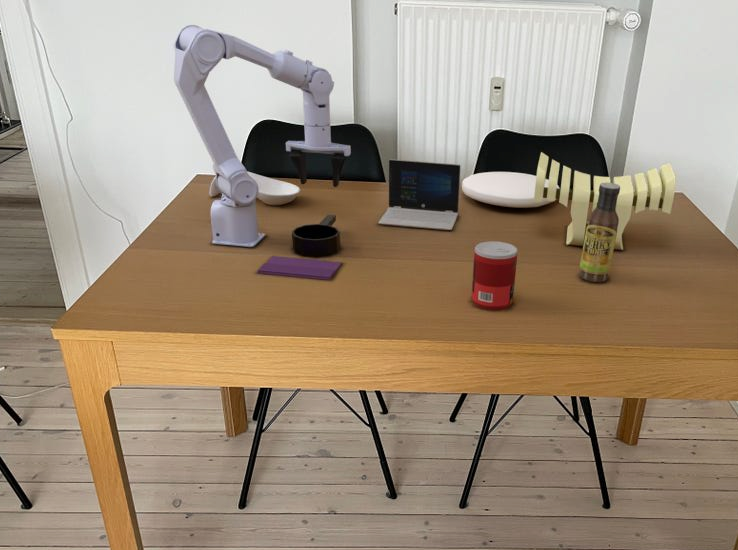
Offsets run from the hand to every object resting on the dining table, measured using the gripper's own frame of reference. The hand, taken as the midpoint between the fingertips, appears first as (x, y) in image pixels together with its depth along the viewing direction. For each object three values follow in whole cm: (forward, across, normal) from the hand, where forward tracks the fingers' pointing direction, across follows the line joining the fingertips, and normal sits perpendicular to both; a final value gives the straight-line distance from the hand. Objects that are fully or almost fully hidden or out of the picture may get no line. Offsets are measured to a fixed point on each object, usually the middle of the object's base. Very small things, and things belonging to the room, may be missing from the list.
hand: (319, 184), depth 168 cm
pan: (+10, -3, +11) cm, 15 cm away
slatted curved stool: (+10, -65, -8) cm, 66 cm away
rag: (+10, -3, +26) cm, 28 cm away
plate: (+10, -42, -35) cm, 56 cm away
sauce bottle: (+10, -64, +16) cm, 66 cm away
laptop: (+10, -22, -11) cm, 26 cm away
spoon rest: (+10, +22, -16) cm, 29 cm away
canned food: (+10, -44, +33) cm, 56 cm away
